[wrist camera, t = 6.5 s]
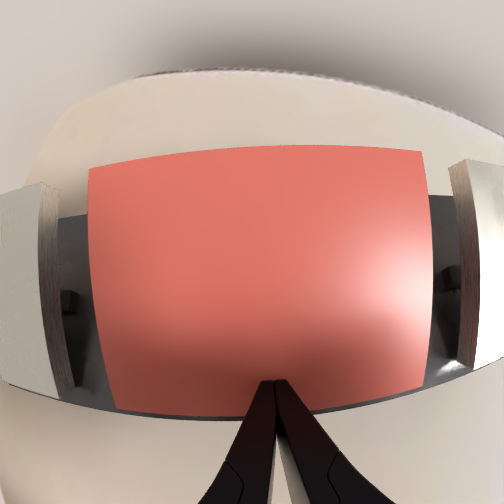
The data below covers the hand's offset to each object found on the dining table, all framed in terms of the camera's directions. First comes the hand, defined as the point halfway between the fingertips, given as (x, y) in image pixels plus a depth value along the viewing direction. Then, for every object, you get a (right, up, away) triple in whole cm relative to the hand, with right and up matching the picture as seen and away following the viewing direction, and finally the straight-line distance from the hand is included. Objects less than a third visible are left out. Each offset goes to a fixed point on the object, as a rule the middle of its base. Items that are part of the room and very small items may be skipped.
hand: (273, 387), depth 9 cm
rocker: (0, +3, +1) cm, 3 cm away
